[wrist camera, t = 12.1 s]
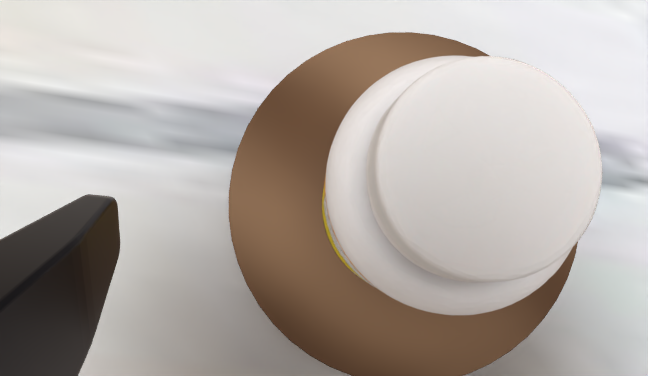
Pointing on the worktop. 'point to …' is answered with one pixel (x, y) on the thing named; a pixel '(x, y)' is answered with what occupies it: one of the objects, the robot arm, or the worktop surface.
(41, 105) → the worktop surface
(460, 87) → the supplement bottle
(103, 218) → the robot arm
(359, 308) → the walnut platform
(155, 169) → the worktop surface
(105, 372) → the worktop surface
